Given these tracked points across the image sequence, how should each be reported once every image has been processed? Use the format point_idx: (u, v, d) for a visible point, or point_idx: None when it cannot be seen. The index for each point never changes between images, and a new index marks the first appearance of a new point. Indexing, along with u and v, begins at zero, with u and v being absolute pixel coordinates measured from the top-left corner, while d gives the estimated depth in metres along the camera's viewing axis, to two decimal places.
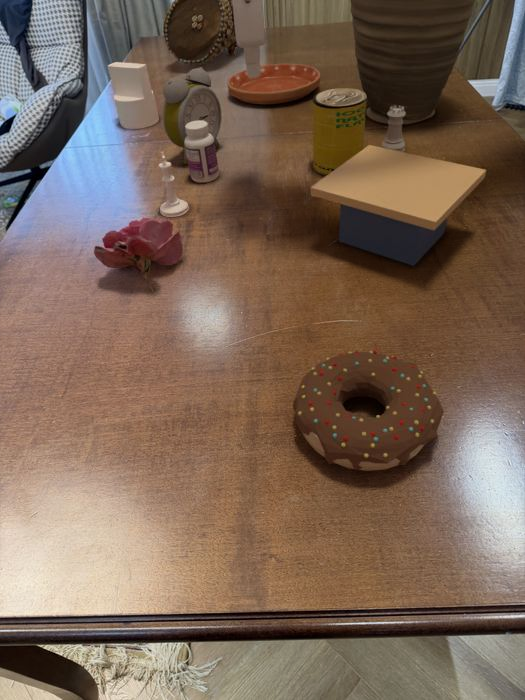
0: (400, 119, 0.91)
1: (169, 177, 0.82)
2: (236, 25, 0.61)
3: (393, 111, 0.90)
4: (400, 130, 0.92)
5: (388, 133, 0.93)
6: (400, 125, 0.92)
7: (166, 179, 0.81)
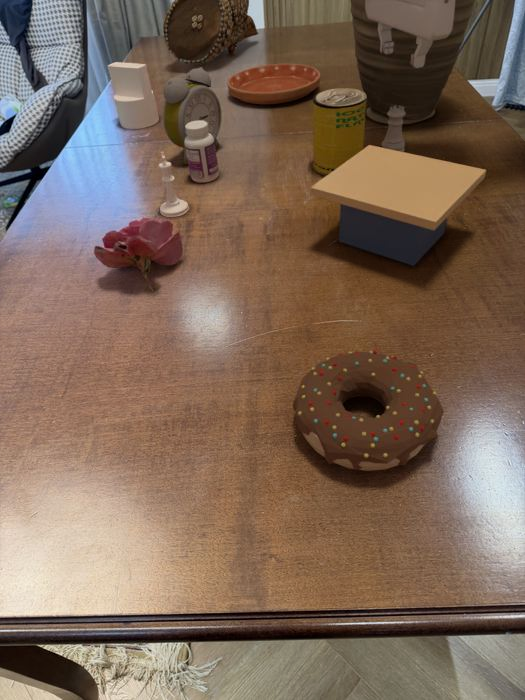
0: (400, 119, 0.91)
1: (169, 177, 0.82)
2: (434, 22, 0.73)
3: (393, 111, 0.90)
4: (400, 130, 0.92)
5: (388, 133, 0.93)
6: (400, 125, 0.92)
7: (166, 179, 0.81)
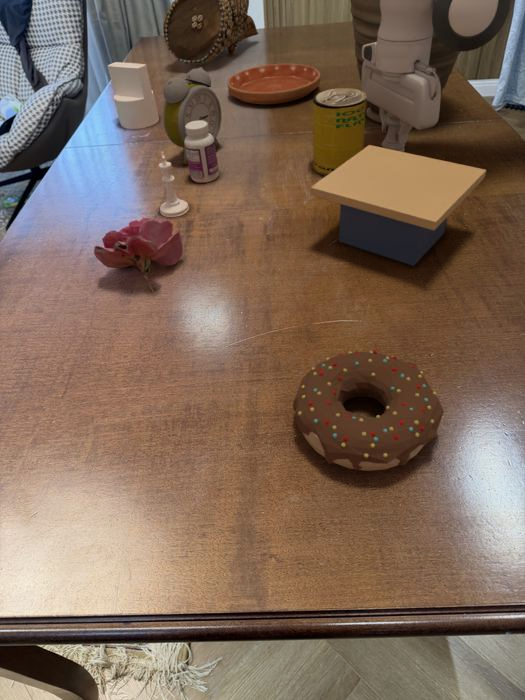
0: None
1: (169, 177, 0.82)
2: (422, 115, 0.82)
3: None
4: None
5: (388, 133, 0.93)
6: (400, 125, 0.92)
7: (166, 179, 0.81)
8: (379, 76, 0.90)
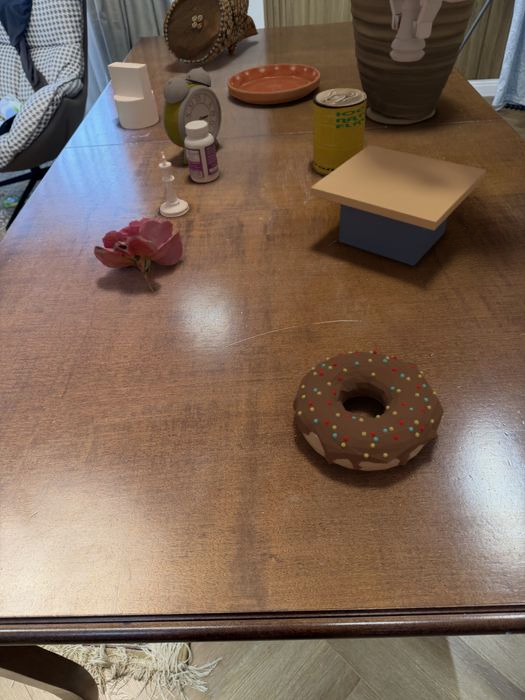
0: None
1: (169, 177, 0.82)
2: None
3: None
4: None
5: (401, 25, 0.63)
6: (419, 11, 0.61)
7: (166, 179, 0.81)
8: None
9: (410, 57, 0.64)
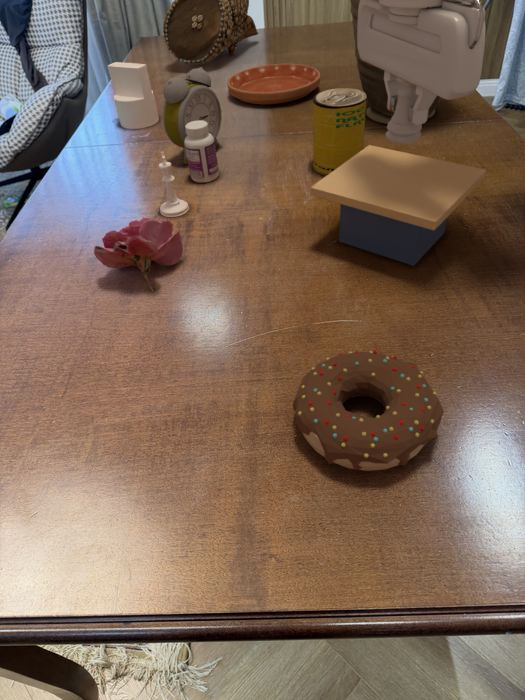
0: None
1: (169, 177, 0.82)
2: (454, 75, 0.51)
3: None
4: None
5: (397, 109, 0.62)
6: (415, 97, 0.60)
7: (166, 179, 0.81)
8: (384, 21, 0.59)
9: (406, 140, 0.63)
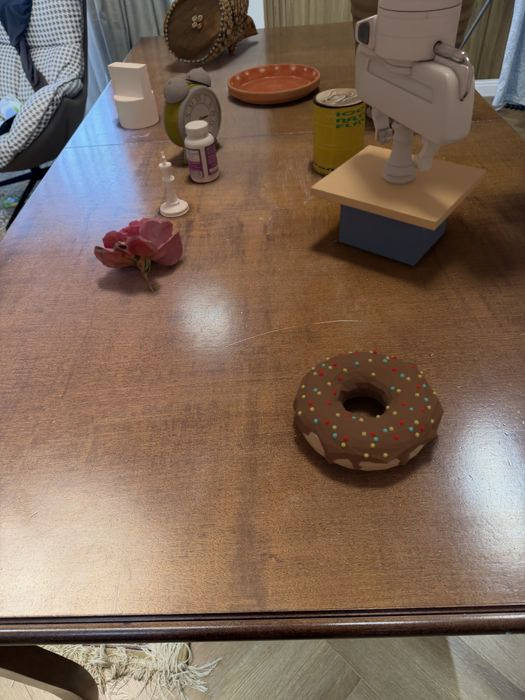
0: (410, 134, 0.63)
1: (169, 177, 0.82)
2: (446, 125, 0.54)
3: None
4: (410, 149, 0.65)
5: (392, 153, 0.66)
6: (409, 142, 0.64)
7: (166, 179, 0.81)
8: (380, 67, 0.62)
9: (401, 181, 0.67)
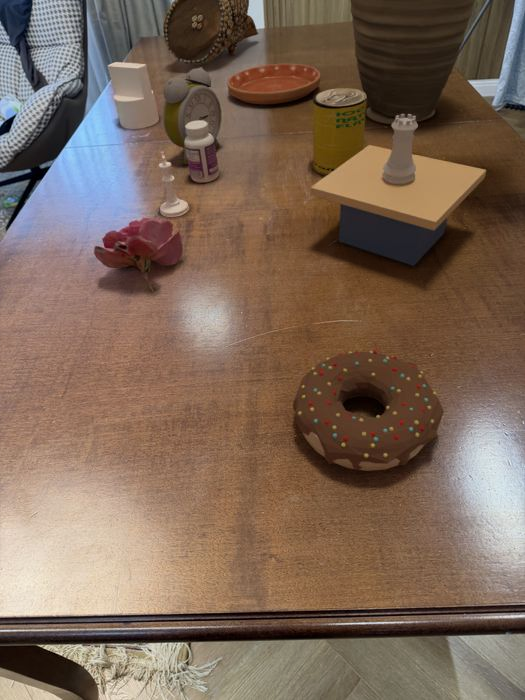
0: (410, 133, 0.63)
1: (169, 177, 0.82)
2: None
3: (400, 122, 0.62)
4: (410, 149, 0.65)
5: (392, 153, 0.66)
6: (409, 142, 0.64)
7: (166, 179, 0.81)
8: None
9: (401, 181, 0.67)
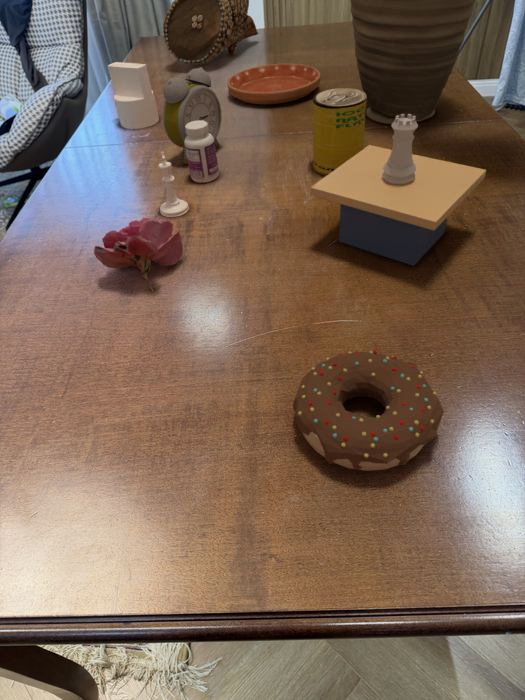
0: (410, 133, 0.63)
1: (169, 177, 0.82)
2: None
3: (400, 122, 0.62)
4: (410, 149, 0.65)
5: (392, 153, 0.66)
6: (409, 142, 0.64)
7: (166, 179, 0.81)
8: None
9: (401, 181, 0.67)
